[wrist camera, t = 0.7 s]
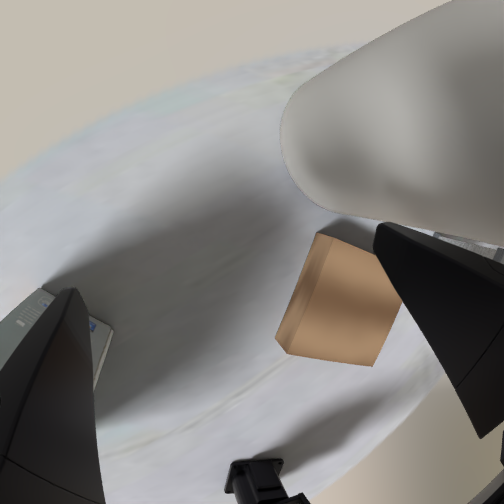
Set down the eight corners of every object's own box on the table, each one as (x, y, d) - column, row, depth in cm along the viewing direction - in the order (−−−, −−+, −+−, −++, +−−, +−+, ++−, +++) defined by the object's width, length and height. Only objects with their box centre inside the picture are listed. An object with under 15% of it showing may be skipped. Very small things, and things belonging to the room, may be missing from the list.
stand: (356, 353, 30) (372, 366, 27) (274, 338, 27) (286, 353, 24) (394, 265, 29) (413, 272, 26) (316, 232, 26) (334, 237, 23)
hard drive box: (38, 283, 21) (-116, 442, 2) (116, 326, 23) (69, 560, 4) (10, 405, 21) (-49, 550, 2) (72, 438, 24) (49, 598, 5)
